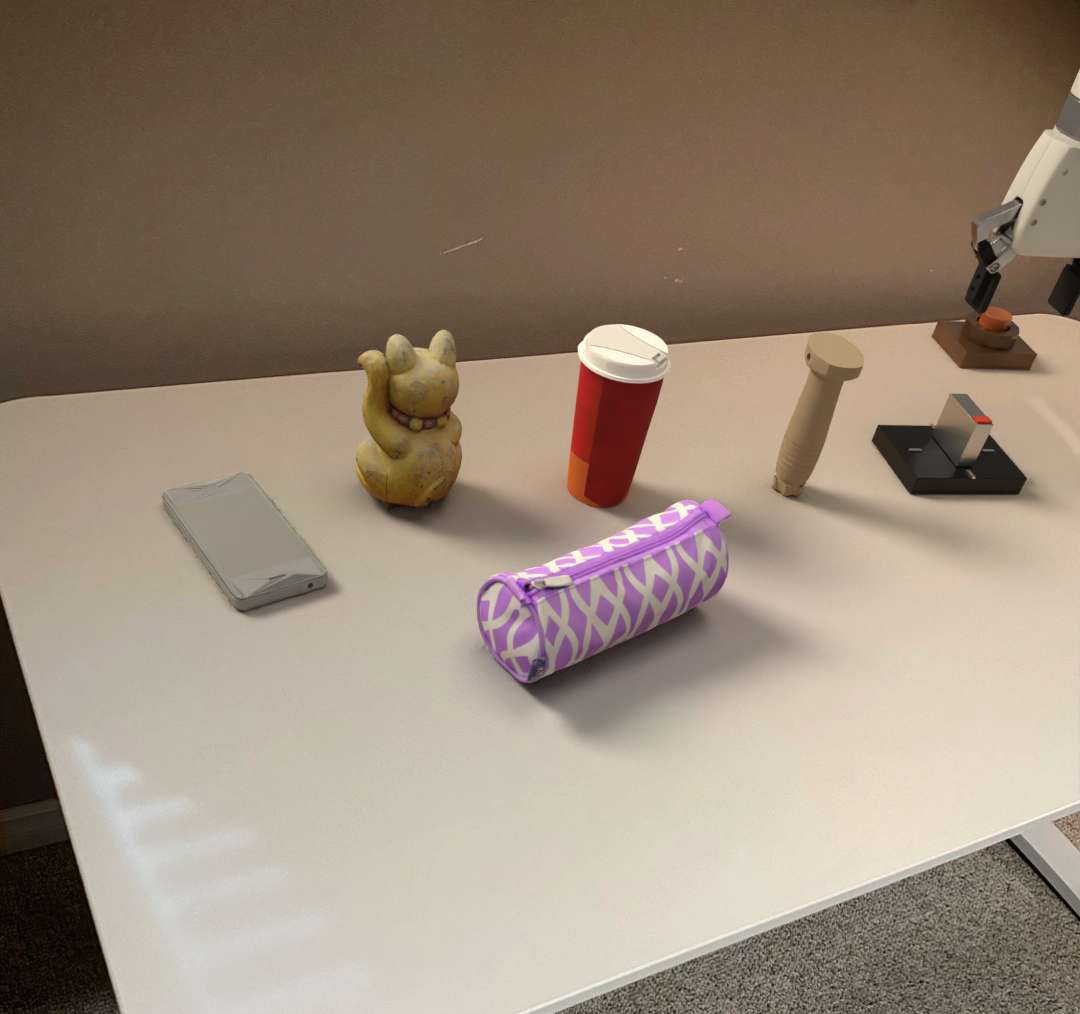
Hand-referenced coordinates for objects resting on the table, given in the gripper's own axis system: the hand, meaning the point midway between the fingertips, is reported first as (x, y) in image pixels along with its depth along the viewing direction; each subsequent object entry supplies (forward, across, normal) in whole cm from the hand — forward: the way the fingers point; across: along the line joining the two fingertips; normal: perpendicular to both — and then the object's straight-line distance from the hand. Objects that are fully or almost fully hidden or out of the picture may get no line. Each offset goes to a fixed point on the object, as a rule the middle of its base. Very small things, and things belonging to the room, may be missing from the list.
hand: (1016, 308), depth 109 cm
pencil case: (+16, +49, +28) cm, 58 cm away
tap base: (+16, +3, +4) cm, 17 cm away
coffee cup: (+16, +43, +8) cm, 47 cm away
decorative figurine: (+16, +61, +8) cm, 64 cm away
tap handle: (+14, +3, +4) cm, 15 cm away
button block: (+16, -15, -21) cm, 30 cm away
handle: (+16, +23, +8) cm, 29 cm away
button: (+12, -15, -21) cm, 29 cm away
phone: (+16, +76, +15) cm, 80 cm away
